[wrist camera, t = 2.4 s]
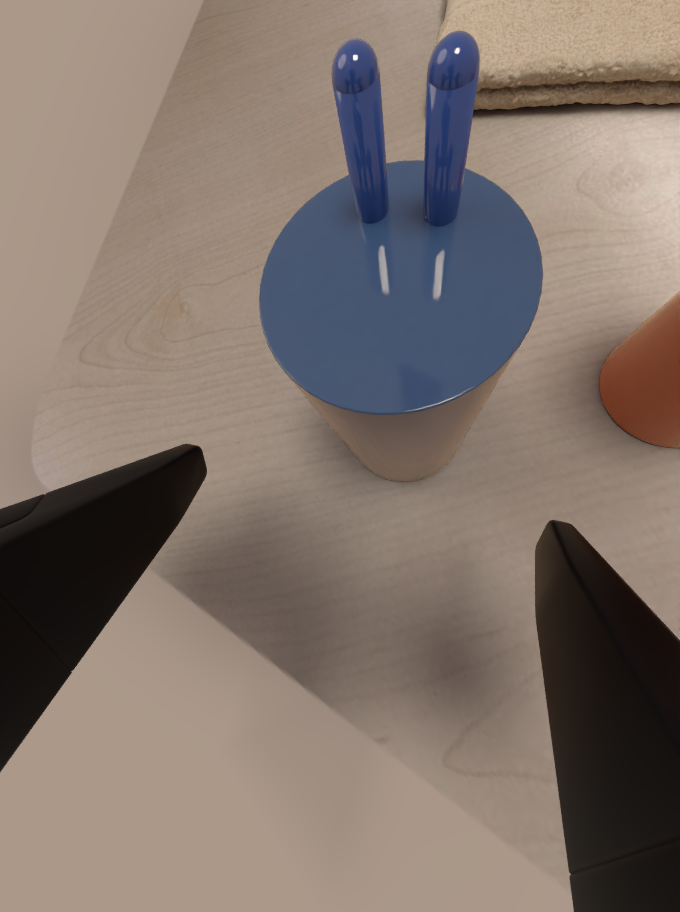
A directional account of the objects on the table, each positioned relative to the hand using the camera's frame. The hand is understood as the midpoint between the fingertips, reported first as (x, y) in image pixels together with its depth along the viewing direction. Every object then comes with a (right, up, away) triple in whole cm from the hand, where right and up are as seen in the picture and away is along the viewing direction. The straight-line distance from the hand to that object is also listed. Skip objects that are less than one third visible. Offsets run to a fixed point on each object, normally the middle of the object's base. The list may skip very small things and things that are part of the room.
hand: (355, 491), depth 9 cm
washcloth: (+15, +27, +14) cm, 34 cm away
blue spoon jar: (+3, +3, +12) cm, 12 cm away
